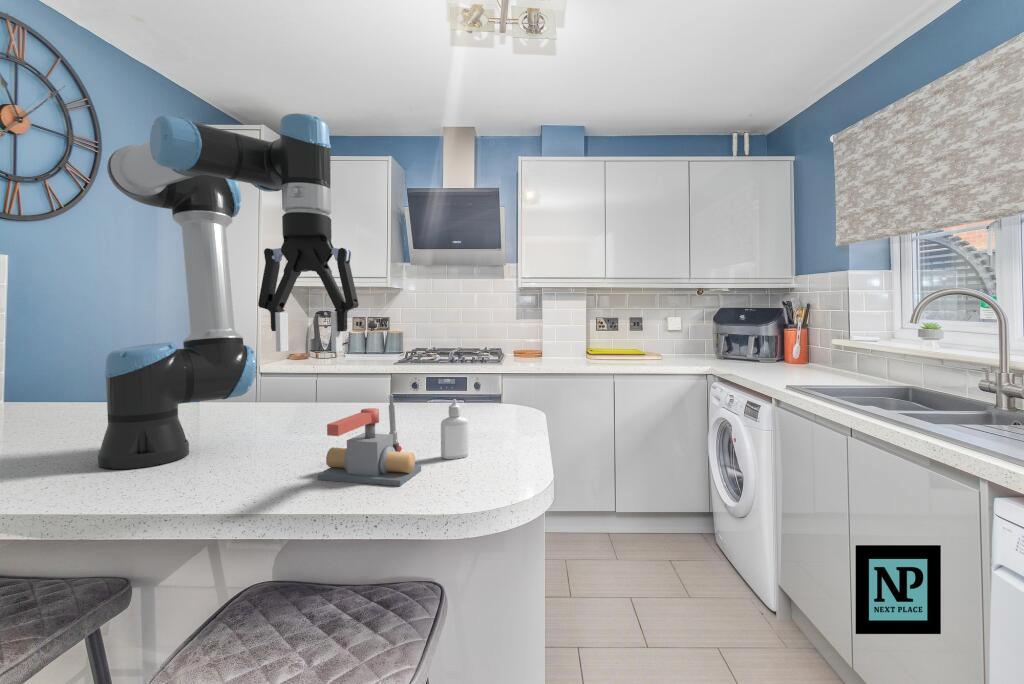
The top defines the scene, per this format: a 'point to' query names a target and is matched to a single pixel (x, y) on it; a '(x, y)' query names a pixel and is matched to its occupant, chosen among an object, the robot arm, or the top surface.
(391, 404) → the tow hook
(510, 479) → the top surface
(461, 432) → the eye dropper bottle
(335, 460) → the valve base
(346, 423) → the lever
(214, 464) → the top surface
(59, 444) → the top surface
